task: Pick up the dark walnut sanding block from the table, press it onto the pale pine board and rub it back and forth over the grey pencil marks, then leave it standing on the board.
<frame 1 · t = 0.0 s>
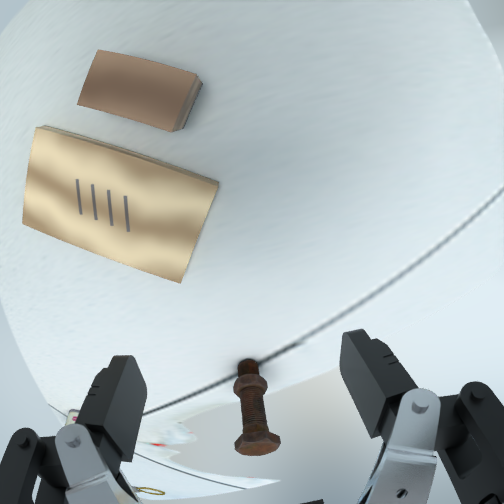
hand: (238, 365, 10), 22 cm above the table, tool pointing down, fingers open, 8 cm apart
sanding block: (152, 93, 24), on the table
bolt: (247, 363, 42), on the table
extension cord: (146, 488, 81), on the table
pine board: (108, 199, 28), on the table
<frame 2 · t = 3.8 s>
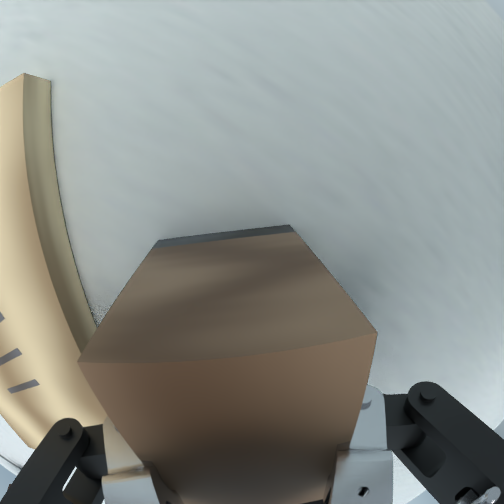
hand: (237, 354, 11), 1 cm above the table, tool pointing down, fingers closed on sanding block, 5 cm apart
sanding block: (236, 332, 12), on the table, touching gripper
pine board: (14, 324, 11), on the table
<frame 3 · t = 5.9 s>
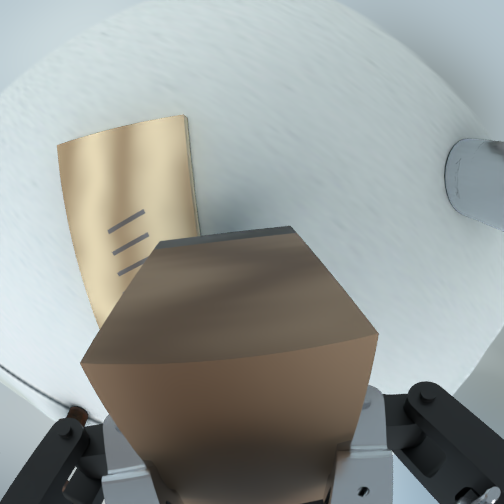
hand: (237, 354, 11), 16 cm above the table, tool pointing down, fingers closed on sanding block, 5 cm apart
sanding block: (237, 332, 12), point 14 cm above the table, touching gripper
bolt: (80, 410, 33), on the table
pine board: (138, 247, 25), on the table
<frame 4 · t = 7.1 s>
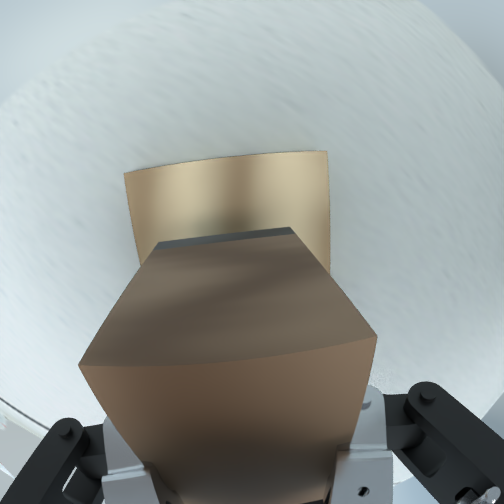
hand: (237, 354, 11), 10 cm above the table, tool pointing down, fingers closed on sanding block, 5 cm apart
sanding block: (237, 333, 12), point 8 cm above the table, touching gripper
pine board: (242, 311, 21), on the table
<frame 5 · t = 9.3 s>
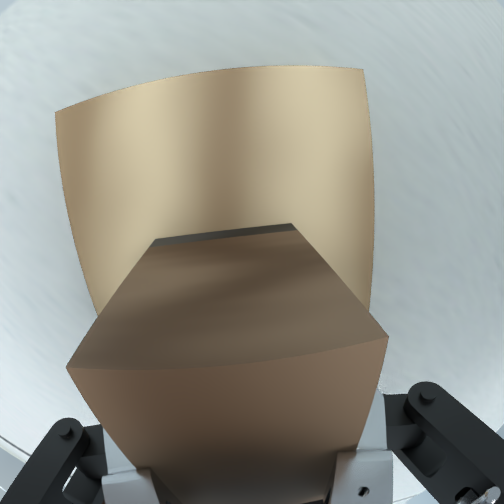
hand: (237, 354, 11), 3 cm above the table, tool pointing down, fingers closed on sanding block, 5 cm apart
sanding block: (236, 334, 12), point 2 cm above the table, touching gripper
pine board: (236, 322, 14), on the table
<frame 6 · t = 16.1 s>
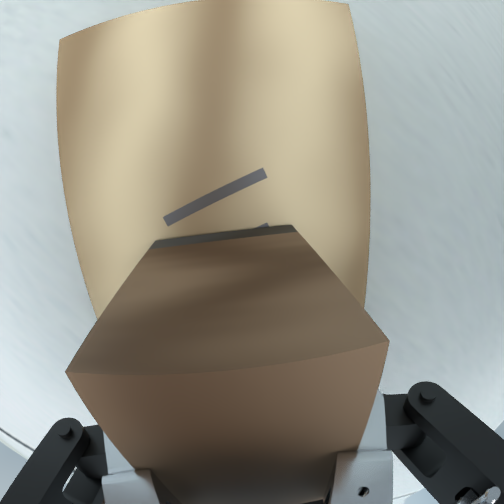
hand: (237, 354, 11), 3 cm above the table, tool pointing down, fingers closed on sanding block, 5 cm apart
sanding block: (236, 335, 12), point 2 cm above the table, touching gripper
pine board: (223, 256, 13), on the table
when the fingers open (4 cm above the table, at t = 16.9 s): sanding block stays where it is, resting on pine board.
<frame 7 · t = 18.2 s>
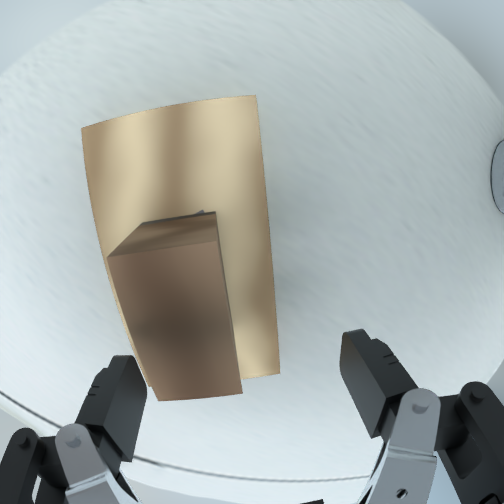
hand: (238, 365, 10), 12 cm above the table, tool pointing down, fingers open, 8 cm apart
sanding block: (189, 279, 20), point 2 cm above the table, touching pine board
pine board: (188, 258, 21), on the table
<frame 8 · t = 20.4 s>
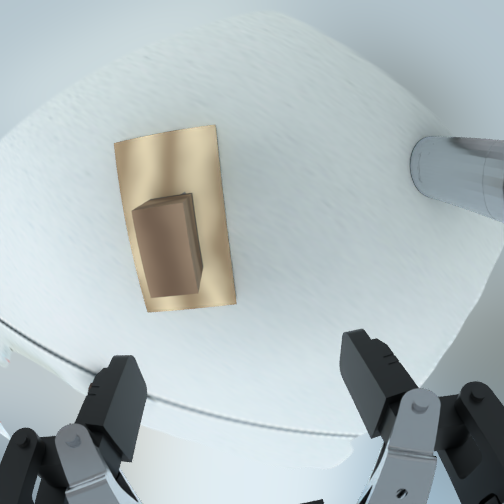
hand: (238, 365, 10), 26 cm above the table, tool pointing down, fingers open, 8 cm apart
sanding block: (176, 233, 33), point 2 cm above the table, touching pine board
pine board: (177, 222, 34), on the table
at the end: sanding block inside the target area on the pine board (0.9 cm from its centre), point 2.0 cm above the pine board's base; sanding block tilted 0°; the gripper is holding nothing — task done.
